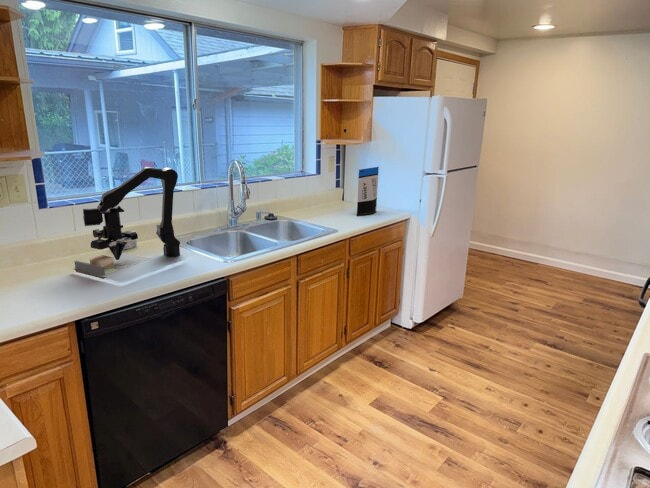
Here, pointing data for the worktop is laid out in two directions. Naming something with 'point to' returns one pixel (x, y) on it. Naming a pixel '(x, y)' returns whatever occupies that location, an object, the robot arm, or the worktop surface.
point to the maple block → (103, 261)
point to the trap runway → (124, 259)
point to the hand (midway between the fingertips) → (117, 259)
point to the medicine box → (130, 243)
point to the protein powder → (367, 191)
